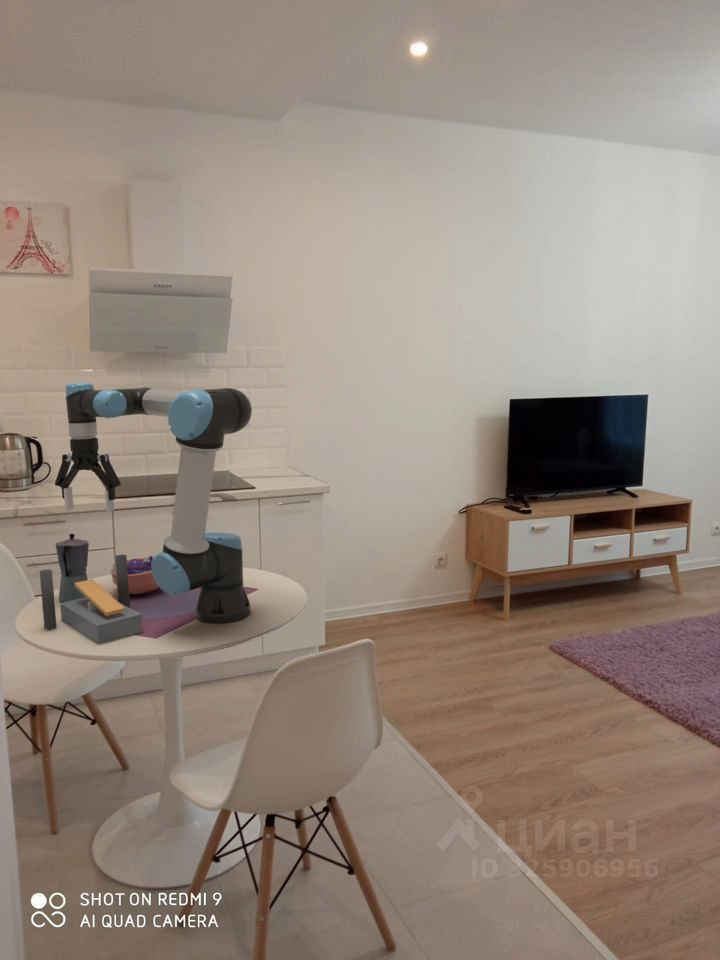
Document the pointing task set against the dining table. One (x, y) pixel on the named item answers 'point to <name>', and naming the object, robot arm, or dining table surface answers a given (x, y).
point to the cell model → (138, 575)
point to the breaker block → (100, 621)
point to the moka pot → (72, 567)
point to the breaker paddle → (99, 597)
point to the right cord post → (122, 580)
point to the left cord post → (48, 599)
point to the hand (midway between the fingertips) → (89, 510)
